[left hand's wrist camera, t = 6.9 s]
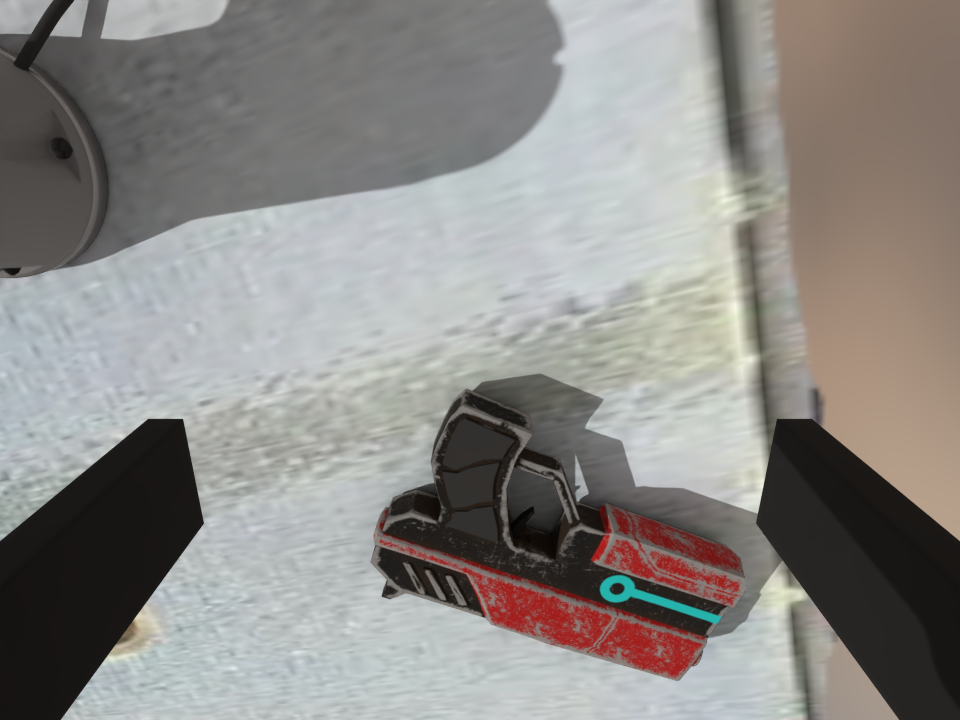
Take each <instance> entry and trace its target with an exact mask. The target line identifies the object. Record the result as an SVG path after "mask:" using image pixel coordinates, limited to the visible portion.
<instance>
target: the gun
mask: <svg viewBox="0 0 960 720" xmlns="http://www.w3.org/2000/svg"><path fill="white" fill-rule="evenodd" d="M531 436H532V427H531V419H530V415H529V414H526V413H524V412H521V411H519V410H516V409H514V408H511V407H509V406H506V405H504V404H502V403H499V402H497V401H494V400H492V399H489V398H487V397H485V396H482V395H480V394H478V393H475V392H473V391H471V390H468V389H465V390H464V391H463V392H462V393H461V394H460V395H459V396H458V397H457V398H456V399H455V400H454V401H453V403H452V404H451V406H450V408H449V410H448V412H447V414H446V416H445V418H444V420H443V422H442V425H441V427H440V430H439V432H438V434H437V437H436V439H435V443H434V448H433V453H432V458H431V465H432V471H433V476H434V482H435V487H436V490H437V494H438V497H437V496H434V495H431V494H428V493H425V492H422V491H419V490H414V491H411V492H408V493H405V494H402V495H399V496H396V497H393V499H392V501H391V504H390V507H389V508H388V507H386V508H385V509H384V510H383V511H382V513H381V514H380V517H379V520H378V523H377V526H376V529H375V533H374V542H375V548H374V552H373V555H372V559H371V563H372V564H373V565H374V567H375V568H376V569H377V570H378V571H379V572H380V573H381V574H382V575H383V576H384V577H385V578H386V579H387V582H386V584H385V586H384V589H383V593H382V597H384V598H388V599H392V598H394V597H397V596H400V595H402V594H405V593H408V594H411V595H414V596H418V597H421V598H424V599H427V600H430V601H433V602H437V603H440V604H443V605H446V606H449V607H453V608H456V609H459V610H462V611H465V612H468V613H472V614H475V615H478V616H481V617H484V618H486V619H487V620H488V621H489V623H490V624H491V625H494V626H497V627H500V628H503V629H506V630H510V631H513V632H516V633H519V634H522V635H525V636H528V637H530V638H533V639H536V640H539V641H541V642H544V643H547V644H550V645H554V646H557V647H561V648H564V649H568V650H571V651H575V652H578V653H582V654H585V655H589V656H592V657H596V658H599V659H603V660H606V661H610V662H613V663H617V664H620V665H624V666H627V667H630V668H634V669H637V670H641V671H644V672H648V673H651V674H655V675H658V676H662V677H665V678H669V679H672V680H676V681H679V680H680V679H681V678H682V677H683V676H684V674H685V673H686V672H687V671H688V670H689V669H690V667H691V666H696V665H697V664H698V663H699V661H700V660H701V657H702V653H703V649H704V647H705V646H706V644H707V637H708V636H709V635H710V633H711V632H712V630H713V629H714V627H715V626H716V625H717V623H718V622H719V620H720V619H721V617H722V616H723V615H724V613H725V612H726V610H727V609H728V607H729V606H730V607H733V608H734V607H735V605H736V604H737V602H738V601H739V599H740V598H741V596H742V595H743V593H744V592H745V590H746V589H747V587H746V582H745V577H744V573H743V568H742V564H741V559H740V558H739V557H738V556H737V555H736V554H735V553H734V552H733V551H732V550H730V549H729V548H728V547H727V546H725V545H723V544H720V543H717V542H714V541H711V540H709V539H706V538H703V537H700V536H697V535H694V534H692V533H689V532H686V531H683V530H680V529H678V528H675V527H672V526H669V525H666V524H664V523H661V522H658V521H655V520H652V519H650V518H647V517H644V516H641V515H638V514H635V513H633V512H630V511H627V510H624V509H621V508H619V507H616V506H613V505H611V504H608V503H604V504H603V505H602V506H601V508H600V509H596V508H593V507H590V506H587V505H584V504H581V503H578V502H575V499H574V496H573V494H572V491H571V488H570V485H569V483H568V480H567V477H566V474H565V472H564V469H563V466H562V463H561V461H560V459H558V458H555V457H552V456H549V455H546V454H543V453H541V452H538V451H535V450H532V449H529V448H526V447H525V446H526V444H527V443H528V441H529V439H530V438H531ZM513 467H515V468H518V469H521V470H524V471H527V472H530V473H533V474H536V475H539V476H542V477H544V478H547V479H550V480H553V481H554V484H555V487H556V489H557V492H558V495H559V497H560V500H561V503H562V505H563V508H564V513H563V514H562V516H561V518H560V520H559V522H558V524H557V526H556V528H555V530H554V532H553V534H552V535H551V534H548V533H545V532H542V531H539V530H536V529H533V528H530V527H527V526H524V525H525V524H526V522H527V521H528V520H529V519H530V517H531V516H532V515H533V514H534V507H531V508H529V509H528V510H526V511H525V512H523V513H522V514H520V515H519V516H518V518H517V519H516V520H515V521H514V522H513V521H512V519H511V516H510V513H509V510H508V499H507V485H508V482H509V479H510V476H511V473H512V470H513Z"/></svg>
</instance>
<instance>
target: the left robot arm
mask: <svg viewBox="0 0 960 720" xmlns="http://www.w3.org/2000/svg"><path fill="white" fill-rule="evenodd" d="M73 1H74V0H53V2H52V3H51V4H50V6H49V7H48V8H47V10H46V11H45V13H44V14H43V16H42V18H41V19H40V21H39V22H38V24H37V26H36V27H35V29H34V30H33V32H32V34H31V35H30V37H29V38H28V40H27V42H26V43H25V45H24V47H23V48H22V50H21V52H20V53H19V55H16V54H14V53H13V52H10V51H8V50H5V49H3V48H0V278H20V277H28V276H32V275H36V274H40V273H43V272H47V271H50V270H53V269H56V268H59V267H61V266H64V265H66V264H68V263H69V262H71V261H73V260H74V259H76V258H77V257H78V256H79V255H81V254H82V253H83V252H84V251H85V250H86V249H87V248H88V247H89V246H90V244H91V243H92V242H93V240H94V239H95V237H96V235H97V234H98V232H99V230H100V228H101V225H102V223H103V220H104V216H105V213H106V207H107V201H108V179H107V172H106V166H105V162H104V158H103V154H102V151H101V148H100V145H99V143H98V141H97V138H96V136H95V134H94V132H93V130H92V128H91V126H90V124H89V122H88V121H87V119H86V117H85V116H84V114H83V112H82V111H81V110H80V108H79V107H78V106H77V104H76V103H75V102H74V100H73V99H72V98H71V97H70V96H69V94H68V93H67V92H66V91H65V90H64V89H63V88H62V87H61V86H60V85H59V84H58V83H57V82H56V81H55V80H54V79H52V78H51V77H50V76H49V75H48V74H47V73H45V72H44V71H43V70H41V69H40V68H38V67H37V66H36V65H34V64H33V63H32V62H33V61H34V59H35V58H36V56H37V54H38V53H39V51H40V50H41V48H42V46H43V45H44V43H45V41H46V40H47V38H48V37H49V35H50V33H51V32H52V30H53V29H54V27H55V26H56V24H57V22H58V21H59V19H60V18H61V17H62V15H63V14H64V13H65V11H66V10H67V9H68V8H69V6H70V5H71V4H72V3H73ZM203 524H204V521H203V517H202V512H201V507H200V502H199V497H198V492H197V487H196V482H195V477H194V472H193V467H192V462H191V457H190V452H189V447H188V442H187V437H186V432H185V427H184V422H183V419H148V420H146V421H145V422H144V423H143V424H142V425H140V426H139V427H138V428H137V429H136V430H134V431H133V432H132V433H131V434H129V435H128V436H127V437H126V438H125V439H123V440H122V441H121V442H120V443H119V444H117V445H116V446H115V447H114V448H113V449H111V450H110V451H109V452H108V453H106V454H105V455H104V456H103V457H102V458H100V459H99V460H98V461H97V462H96V463H94V464H93V465H92V466H91V467H90V468H88V469H87V470H86V471H85V472H83V473H82V474H81V475H80V476H79V477H77V478H76V479H75V480H74V481H73V482H71V483H70V484H69V485H68V486H66V487H65V488H64V489H63V490H62V491H60V492H59V493H58V494H57V495H56V496H54V497H53V498H52V499H51V500H50V501H48V502H47V503H46V504H45V505H43V506H42V507H41V508H40V509H39V510H37V511H36V512H35V513H34V514H33V515H31V516H30V517H29V518H28V519H27V520H25V521H24V522H23V523H22V524H20V525H19V526H18V527H17V528H16V529H14V530H13V531H12V532H11V533H10V534H8V535H7V536H6V537H5V538H4V539H2V540H1V541H0V720H61V719H62V717H63V716H64V715H65V713H66V712H67V710H68V709H69V708H70V706H71V705H72V704H73V702H74V701H75V699H76V698H77V697H78V695H79V694H80V693H81V691H82V690H83V688H84V687H85V686H86V684H87V683H88V682H89V680H90V679H91V678H92V676H93V675H94V673H95V672H96V671H97V669H98V668H99V667H100V665H101V664H102V662H103V661H104V660H105V658H106V657H107V656H108V654H109V653H110V651H111V650H112V649H113V647H114V646H115V645H116V643H117V642H118V641H119V639H120V638H121V636H122V635H123V634H124V632H125V631H126V630H127V628H128V627H129V625H130V624H131V623H132V621H133V620H134V619H135V617H136V616H137V614H138V613H139V612H140V610H141V609H142V608H143V606H144V605H145V604H146V602H147V601H148V599H149V598H150V597H151V595H152V594H153V593H154V591H155V590H156V588H157V587H158V586H159V584H160V583H161V582H162V580H163V579H164V577H165V576H166V575H167V573H168V572H169V571H170V569H171V568H172V567H173V565H174V564H175V562H176V561H177V560H178V558H179V557H180V556H181V554H182V553H183V551H184V550H185V549H186V547H187V546H188V545H189V543H190V542H191V540H192V539H193V538H194V536H195V535H196V534H197V532H198V531H199V530H200V528H201V527H202V525H203ZM756 524H757V525H758V527H759V528H760V530H761V531H762V532H763V534H764V535H765V536H766V538H767V539H768V540H769V542H770V543H771V545H772V546H773V547H774V549H775V550H776V551H777V553H778V554H779V556H780V557H781V558H782V560H783V561H784V562H785V564H786V565H787V567H788V568H789V569H790V571H791V572H792V573H793V575H794V576H795V577H796V579H797V580H798V582H799V583H800V584H801V586H802V587H803V588H804V590H805V591H806V593H807V594H808V595H809V597H810V598H811V599H812V601H813V602H814V604H815V605H816V606H817V608H818V609H819V610H820V612H821V613H822V614H823V616H824V617H825V619H826V620H827V621H828V623H829V624H830V625H831V627H832V628H833V630H834V631H835V632H836V634H837V635H838V636H839V638H840V639H841V640H842V642H843V643H844V645H845V646H846V647H847V649H848V650H849V651H850V653H851V654H852V656H853V657H854V658H855V660H856V661H857V662H858V664H859V665H860V667H861V668H862V669H863V671H864V672H865V673H866V675H867V676H868V677H869V679H870V680H871V682H872V683H873V684H874V686H875V687H876V688H877V690H878V691H879V693H880V694H881V695H882V697H883V698H884V699H885V701H886V702H887V704H888V705H889V706H890V708H891V709H892V710H893V712H894V713H895V714H896V716H897V717H898V719H899V720H960V541H959V540H958V539H956V538H955V537H954V536H953V535H952V534H950V533H949V532H948V531H947V530H946V529H944V528H943V527H942V526H941V525H939V524H938V523H937V522H936V521H935V520H933V519H932V518H931V517H930V516H929V515H927V514H926V513H925V512H924V511H923V510H921V509H920V508H919V507H918V506H916V505H915V504H914V503H913V502H912V501H910V500H909V499H908V498H907V497H906V496H904V495H903V494H902V493H901V492H900V491H898V490H897V489H896V488H895V487H893V486H892V485H891V484H890V483H889V482H887V481H886V480H885V479H884V478H883V477H881V476H880V475H879V474H878V473H877V472H875V471H874V470H873V469H872V468H870V467H869V466H868V465H867V464H866V463H864V462H863V461H862V460H861V459H860V458H858V457H857V456H856V455H855V454H854V453H852V452H851V451H850V450H849V449H847V448H846V447H845V446H844V445H843V444H841V443H840V442H839V441H838V440H837V439H835V438H834V437H833V436H832V435H831V434H829V433H828V432H827V431H826V430H824V429H823V428H822V427H821V426H820V425H818V424H817V423H816V422H815V421H814V420H812V419H777V422H776V427H775V432H774V437H773V442H772V447H771V452H770V457H769V462H768V467H767V472H766V477H765V482H764V487H763V492H762V497H761V502H760V507H759V512H758V516H757V521H756Z"/></svg>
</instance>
